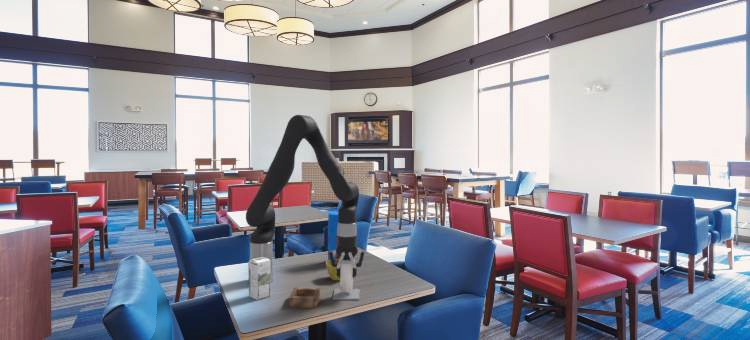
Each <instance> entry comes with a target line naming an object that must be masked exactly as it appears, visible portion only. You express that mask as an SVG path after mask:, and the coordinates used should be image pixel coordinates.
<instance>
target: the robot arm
mask: <svg viewBox="0 0 750 340" xmlns="http://www.w3.org/2000/svg"><path fill="white" fill-rule="evenodd" d="M303 139H304V140H305V141H306V142H307V143H308V144H309V145H310V146H311V148H312V149H313V152H314V155H315V157H316V161H317V164H318V166H319V168H320V169H321V171H322V173H323V174H324V176H325V177H326V179H328V181H329V184H330V188H331V189H332V191H333V194H334V195H335V197H336V198H337V199H338V200H339V201H341V205H340V207H339V209H338V211H337V212H338V228H337V249H336V250H334V251H332V250H330V252H329V255H330V259H331V263H332V266H333V267H336V268H337V276H338V278H340V265H341V260H352V265H353V279H354V278H355V277H357V270H358V269H357V268H361V267H362V264H363V260H364V256H365V251H364V250H359V249H358V247H357V244H358V242H357V240H358V238H357V237H358V234H357V233H358V226H357V209H358V205H359V198H360V189H359V187H358V185H357V183H355V182H353V181H347V179H346V177H345V176H344V175H345V170H344V169H343V167H342V165H341V163H339V161H338V159H337V158H336V156H335V155H334V153H333V152H332V151H331V149H330V147H329V146H328V143H327V142H326V140H325V138H324V136H323V134H322V132H321V130H320V127H319V125H318V123H317V121H316V120H315V119H314V118H313V117H312V116H310V115H303V114H295V115H294V116H292V117H291V118H290V119H289V121H288V122H287V124H286V128H285V130H284V134H283V136H282V140H281V142H280V144H279V147H277V150H276V152H275V155H274V157H273V160H272V161H271V164H270V166H269V168H268V169H267V172H266V174H265V176H264V179H263V181H262V182H261V184H260V187H259V189H258V191H257V192H256V195H255V196H254V198H253V200H252V201H251V203H250V204H249V206H248V208H247V209H246V212H245V221H246V223H247V225H248V226H250V227H252V228H255V230H254V231H253V232H252V233H251V234H250V236H249V260H252V259H256V258H260V257H265V258H267V259H269V260H271V263H270V283H272V282H273V281H274V279H273V276H274V273H273V272H274V270H273V269H274V268H273V265H274V262H273V260H274V259H273V257H274V256H273V255H274V251H273V249H274V248H273V247H274V243H273V242H274V240H273V237H274V235H275V233H276V232H275V230H276V229H275V228H276V211H275V208H274V206H273V205H272V204H271V203H272V201H273V200H274V199H275V198H276V197H277V195H279V194H280V192H281V191H283V189H284V188H285V187H286V186H287V184H288V183H289V180H290V179H291V177H292V175H293V173H294V170H295V159H296V152H297V150H298V147H299V145H300V143H301V142H302V141H303ZM335 253H337V254H338V256H339V257H340V258H339V261H338V263H335V259H334V256H335ZM357 254H358V257H359V259H358V263H357V261H356V258H355V257H356V255H357Z"/></svg>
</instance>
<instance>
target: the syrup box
mask: <svg viewBox="0 0 750 340" xmlns="http://www.w3.org/2000/svg"><path fill="white" fill-rule="evenodd" d="M270 263H271V260H269V259H267V258H265V257H260V258H256V259H252V260H250V259H249V260H248V296H249V298H252V299H253V300H256V301H259V300H263V299H265V298H268V297H270V296H271V282H270Z"/></svg>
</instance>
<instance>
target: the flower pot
mask: <svg viewBox="0 0 750 340" xmlns="http://www.w3.org/2000/svg"><path fill="white" fill-rule="evenodd" d="M338 261H339V259H335V263H338ZM325 266H326V270H327V274H328V275H329V277H330V279H331V280H332V281H340V278H338V276H337V268H336V267H333V266H332V263H331V260H329V261H328V260H327V261H326V262H325Z"/></svg>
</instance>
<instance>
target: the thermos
mask: <svg viewBox="0 0 750 340" xmlns="http://www.w3.org/2000/svg"><path fill="white" fill-rule="evenodd" d="M327 220H328V221H327V223H328V225H327V227H328V228H327V229H328V230H327V236H328V237H327V261H329V260H331V259H330V255H329V252H330V250H332V251H334V250H336V249H337V228H338V211H330V212H328V218H327ZM339 258H340V257H339V256H338V254H337V253H335V256H334V259H339Z"/></svg>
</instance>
